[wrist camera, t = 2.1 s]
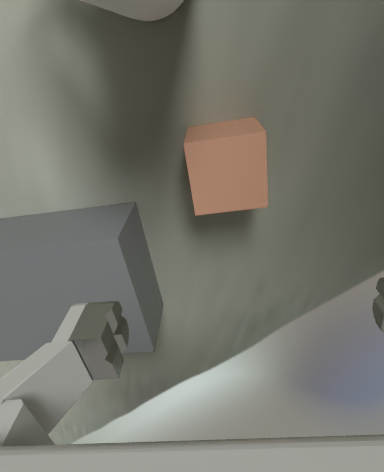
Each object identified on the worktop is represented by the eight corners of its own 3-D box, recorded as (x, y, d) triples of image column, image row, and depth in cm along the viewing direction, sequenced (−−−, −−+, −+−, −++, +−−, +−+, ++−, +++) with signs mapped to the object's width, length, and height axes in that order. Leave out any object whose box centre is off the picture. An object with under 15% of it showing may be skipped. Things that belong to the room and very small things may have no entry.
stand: (135, 202, 26) (117, 238, 21) (163, 304, 32) (154, 351, 27) (-31, 222, 28) (-85, 260, 23) (25, 315, 34) (-8, 361, 29)
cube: (254, 116, 22) (266, 131, 18) (257, 180, 25) (268, 206, 20) (188, 126, 23) (183, 143, 18) (197, 188, 25) (195, 215, 21)
